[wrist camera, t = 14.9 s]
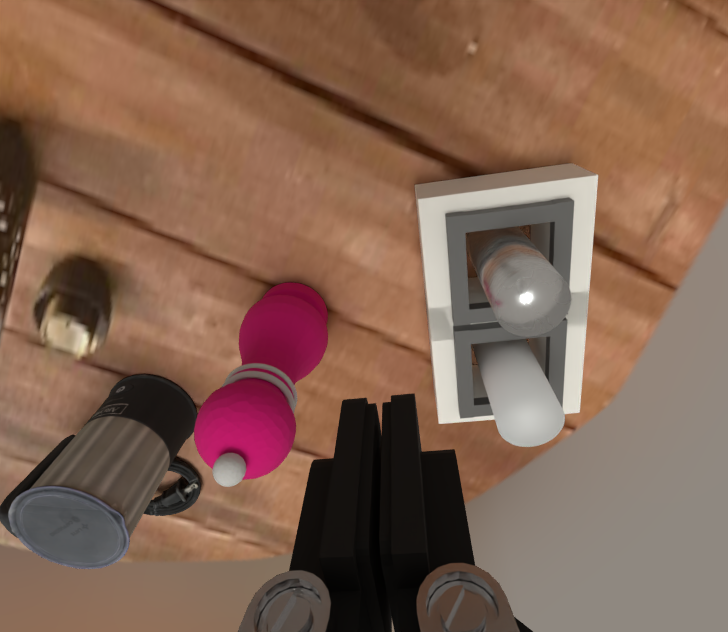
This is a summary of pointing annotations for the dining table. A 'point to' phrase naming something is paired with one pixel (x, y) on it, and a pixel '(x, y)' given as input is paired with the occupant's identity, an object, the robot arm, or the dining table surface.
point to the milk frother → (107, 477)
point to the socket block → (475, 315)
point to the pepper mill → (263, 385)
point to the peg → (518, 281)
